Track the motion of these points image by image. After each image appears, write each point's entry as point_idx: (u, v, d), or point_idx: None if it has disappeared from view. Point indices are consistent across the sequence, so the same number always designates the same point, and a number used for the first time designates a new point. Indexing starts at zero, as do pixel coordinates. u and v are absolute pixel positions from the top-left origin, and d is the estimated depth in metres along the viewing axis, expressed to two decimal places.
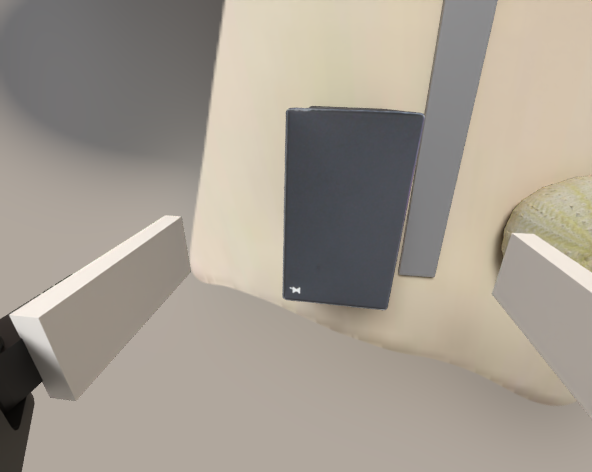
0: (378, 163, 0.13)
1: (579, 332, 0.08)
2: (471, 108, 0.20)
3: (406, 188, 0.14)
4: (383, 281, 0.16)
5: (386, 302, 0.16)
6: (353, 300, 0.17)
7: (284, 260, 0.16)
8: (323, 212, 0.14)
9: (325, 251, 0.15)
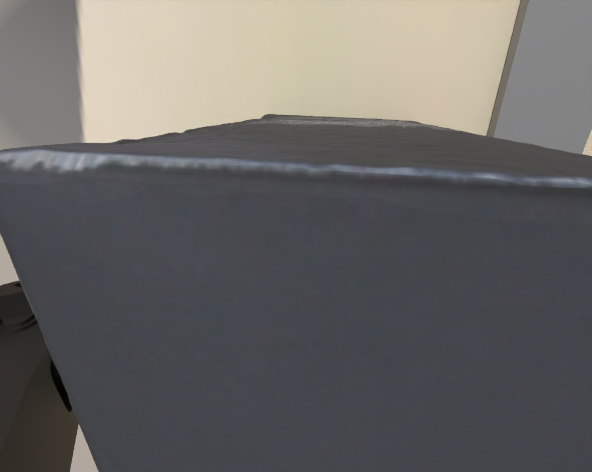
0: (476, 424, 0.03)
1: None
2: (591, 120, 0.10)
3: None
4: None
5: None
6: None
7: None
8: None
9: None
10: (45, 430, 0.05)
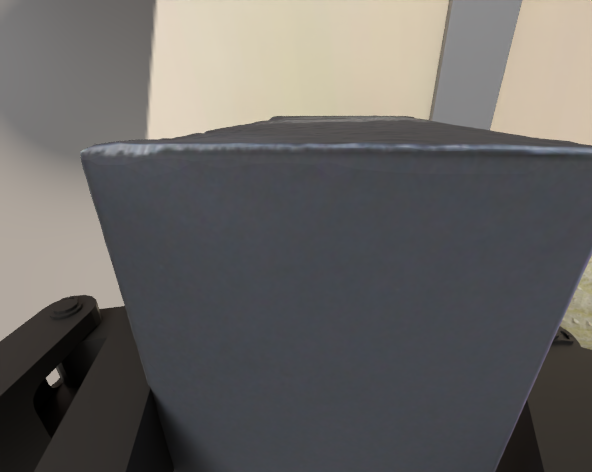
0: (420, 327, 0.04)
1: None
2: (490, 120, 0.15)
3: (518, 395, 0.04)
4: None
5: None
6: None
7: None
8: (256, 433, 0.05)
9: None
10: None
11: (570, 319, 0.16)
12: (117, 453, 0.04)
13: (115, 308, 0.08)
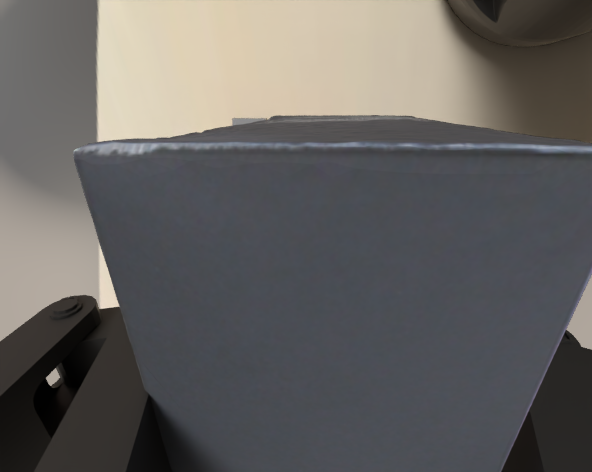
0: (422, 331, 0.04)
1: None
2: None
3: (522, 400, 0.04)
4: None
5: None
6: None
7: None
8: (255, 437, 0.05)
9: None
10: None
11: None
12: (117, 452, 0.04)
13: (115, 308, 0.08)
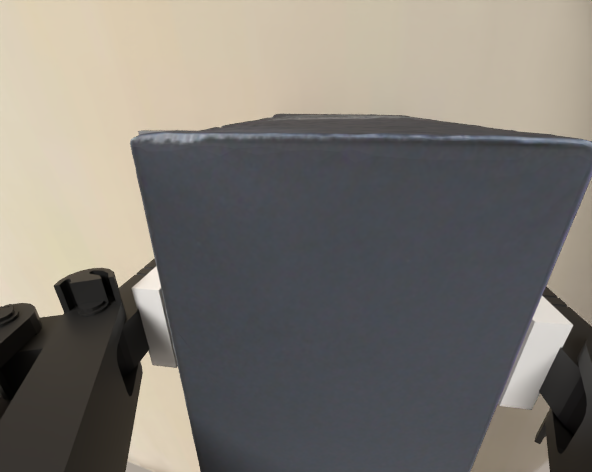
0: (426, 294, 0.04)
1: None
2: None
3: (508, 354, 0.05)
4: None
5: None
6: None
7: (201, 469, 0.07)
8: (276, 398, 0.06)
9: (290, 468, 0.06)
10: (111, 413, 0.06)
11: None
12: (51, 465, 0.04)
13: (59, 316, 0.08)
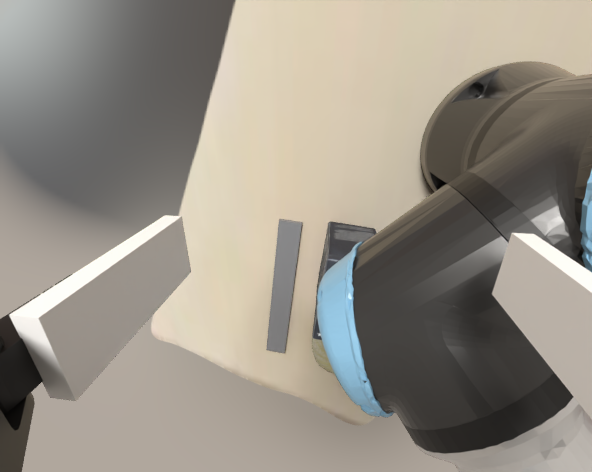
0: None
1: (579, 332, 0.08)
2: (293, 283, 0.42)
3: None
4: None
5: None
6: None
7: (316, 320, 0.32)
8: None
9: None
10: None
11: (318, 357, 0.43)
12: None
13: None
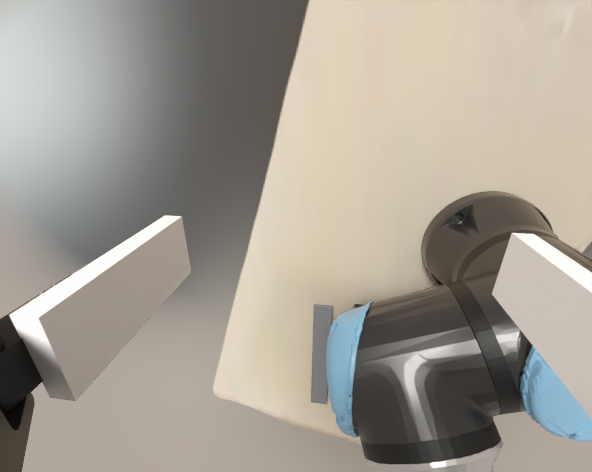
0: None
1: (579, 332, 0.08)
2: None
3: None
4: None
5: None
6: None
7: None
8: None
9: None
10: None
11: None
12: None
13: None
